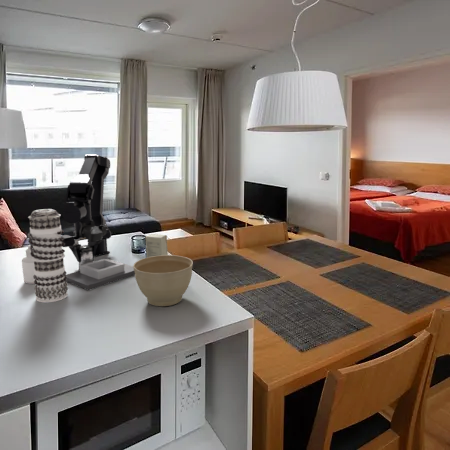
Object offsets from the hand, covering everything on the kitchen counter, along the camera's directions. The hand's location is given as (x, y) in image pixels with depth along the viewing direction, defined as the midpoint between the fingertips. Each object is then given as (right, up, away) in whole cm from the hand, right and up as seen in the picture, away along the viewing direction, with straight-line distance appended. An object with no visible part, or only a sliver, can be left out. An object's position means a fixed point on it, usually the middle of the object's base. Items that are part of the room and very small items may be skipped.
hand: (85, 260), depth 134 cm
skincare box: (+26, -3, -3) cm, 27 cm away
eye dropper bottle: (-11, -6, -16) cm, 20 cm away
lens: (0, -2, 0) cm, 2 cm away
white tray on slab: (+9, -4, -10) cm, 14 cm away
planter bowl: (+33, -9, -29) cm, 44 cm away
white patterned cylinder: (0, -8, -27) cm, 28 cm away
